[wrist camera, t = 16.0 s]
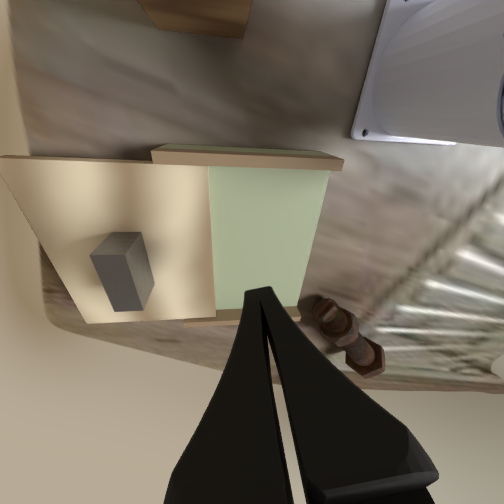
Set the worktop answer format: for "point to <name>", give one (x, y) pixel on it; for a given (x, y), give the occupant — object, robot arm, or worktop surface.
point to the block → (200, 16)
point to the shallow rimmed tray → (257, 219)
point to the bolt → (349, 338)
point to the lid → (121, 233)
